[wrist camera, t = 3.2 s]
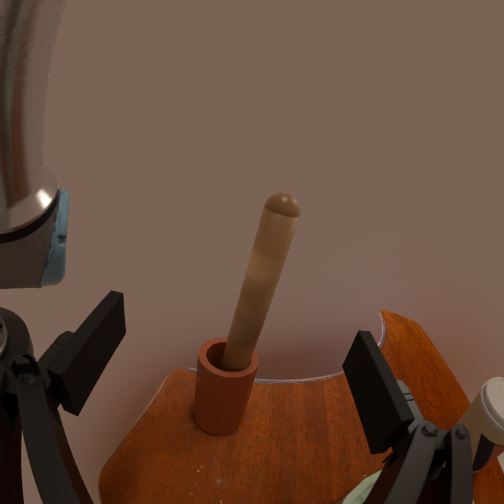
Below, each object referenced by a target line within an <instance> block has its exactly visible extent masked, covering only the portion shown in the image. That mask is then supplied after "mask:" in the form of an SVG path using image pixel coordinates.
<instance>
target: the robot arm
mask: <svg viewBox="0 0 504 504" xmlns="http://www.w3.org/2000/svg"><path fill="white" fill-rule="evenodd" d="M66 3H67V0H0V289H8V288H9V289H10V288H41V287H42V286H49V285H56V284H58V283H60V282H61V281H62V279H63V278H64V275H65V263H66V237H67V222H68V211H69V210H68V209H69V199H70V194H69V193H68V191H66V190H62V189H57V181H56V177H55V175H54V173H53V172H52V171H51V170H50V169H49V168H48V167H46V166H45V165H44V160H43V140H44V119H45V105H46V96H47V87H48V80H49V73H50V67H51V61H52V56H53V51H54V46H55V42H56V38H57V34H58V30H59V26H60V23H61V19H62V16H63V12H64V9H65V6H66ZM125 334H126V327H125V314H124V299H123V293H120V292H116V291H110V293H109V294H108V295H107V296H106V297H105V298H104V299H103V300H102V301H101V302H100V303H99V305H98V306H97V307H96V308H95V309H94V310H93V312H92V313H91V314H90V315H89V316H88V317H87V318H86V320H85V321H84V322H83V323H82V324H81V325H80V327H79V328H78V329H77V330H76V331H75V333H72V332H70V331H66V332H64V333H63V334H61V335H59V336H58V337H57V339H56V340H55V341H54V343H52V344H51V346H50V347H49V348H48V349H47V350H46V352H45V353H44V354H43V355H42V357H41V358H40V359H39V360H38V361H37V362H36V359H35V357H34V356H33V355H32V354H30V353H28V352H21V353H17V354H16V355H14V356H13V357H12V358H11V360H10V363H9V365H10V367H11V370H12V371H8V370H5V369H4V367H3V364H2V363H1V361H2V359H3V358H4V356H5V354H6V352H7V349H8V346H9V335H8V332H7V329H6V326H5V323H4V321H3V319H2V318H1V316H0V504H24V499H23V488H22V474H21V437H22V431H23V436H24V441H25V445H26V450H27V454H28V458H29V462H30V465H31V469H32V473H33V476H34V479H35V482H36V485H37V488H38V491H39V494H40V497H41V499H42V502H43V504H94V503H93V501H92V499H91V497H90V495H89V493H88V491H87V489H86V486H85V484H84V482H83V480H82V478H81V476H80V473H79V471H78V468H77V466H76V463H75V460H74V458H73V455H72V453H71V450H70V447H69V444H68V441H67V438H66V435H65V431H64V428H63V425H62V421H61V418H60V414H59V411H58V409H57V408H58V406H59V405H60V403H61V405H62V407H63V409H64V410H65V411H67V412H69V413H71V414H74V415H76V416H78V415H79V413H80V412H81V410H82V408H83V406H84V404H85V402H86V400H87V399H88V397H89V395H90V393H91V391H92V390H93V388H94V386H95V384H96V382H97V381H98V379H99V377H100V376H101V374H102V372H103V370H104V369H105V367H106V365H107V363H108V362H109V360H110V359H111V357H112V355H113V354H114V352H115V350H116V349H117V347H118V345H119V344H120V342H121V340H122V339H123V337H124V336H125ZM342 367H343V370H344V373H345V375H346V378H347V381H348V384H349V387H350V390H351V393H352V396H353V399H354V402H355V405H356V408H357V411H358V414H359V417H360V420H361V423H362V426H363V429H364V432H365V436H366V439H367V442H368V445H369V448H370V452H371V455H372V454H379V453H385V452H386V451H387V450H388V449H389V448H390V447H392V450H393V452H392V453H391V454H390V455H388V456H387V457H386V458H385V459H384V460H383V462H382V463H384V462H386V463H385V465H384V467H383V469H382V471H381V473H380V475H379V477H378V479H377V480H376V482H375V484H374V486H373V487H372V489H371V491H370V493H369V494H368V496H367V498H366V499H365V501H364V502H363V504H473V465H472V450H471V439H470V433H469V431H468V429H467V428H466V427H465V426H464V425H461V424H455V425H453V426H452V428H451V429H450V430H440V429H438V427H437V426H436V425H435V424H434V423H432V422H431V421H427V420H426V421H425V420H424V418H423V416H422V414H421V412H420V410H419V408H418V406H417V404H416V402H415V400H414V398H413V396H412V395H411V392H410V390H409V388H408V387H407V385H406V384H405V383H404V382H403V381H402V380H396V379H395V377H394V375H393V373H392V371H391V369H390V367H389V366H388V364H387V362H386V360H385V358H384V356H383V354H382V353H381V351H380V349H379V347H378V345H377V343H376V342H375V340H374V338H373V336H372V334H371V333H370V331H358V333H357V335H356V337H355V339H354V342H353V344H352V346H351V349H350V350H349V352H348V355H347V357H346V359H345V361H344V363H343V365H342ZM445 462H446V465H445Z"/></svg>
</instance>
